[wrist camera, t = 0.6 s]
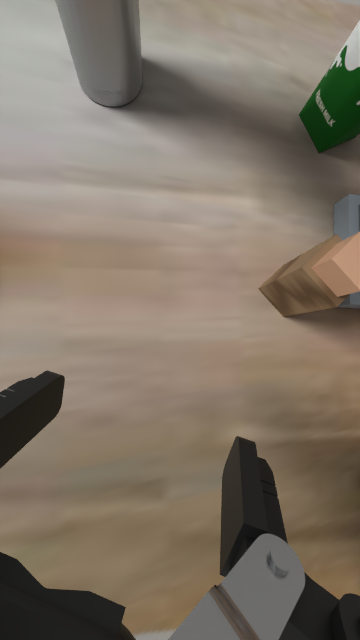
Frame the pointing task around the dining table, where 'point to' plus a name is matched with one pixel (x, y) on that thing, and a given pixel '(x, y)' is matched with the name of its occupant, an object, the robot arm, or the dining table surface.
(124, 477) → the dining table surface
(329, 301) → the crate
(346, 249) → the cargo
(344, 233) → the dock
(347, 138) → the milk carton
